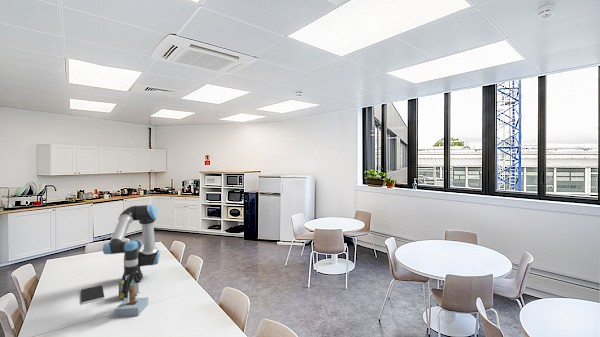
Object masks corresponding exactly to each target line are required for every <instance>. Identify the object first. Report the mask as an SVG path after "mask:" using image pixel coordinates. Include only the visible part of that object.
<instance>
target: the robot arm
mask: <svg viewBox="0 0 600 337" xmlns="http://www.w3.org/2000/svg"><path fill="white" fill-rule="evenodd" d="M157 210H158V209H157V207H156V206H155V205H153V204H146V205H144V204H143V205H132V206H128V207H127V208H125V209H124V210H123V211H122V212H121V213H120V214H119V216H118V220H117V221H118V223H117V225H116V227H115V229H114V232H113V234H112V235H111V238H110V241H109V242H106V243H104V244H103V246H102V252H103V254H104V255H116V254H124V256H123V274H122V276H121V281H122V280H124V283H123V288H122V293H124V303H129V292H128V291H129V288H130V284H131V282H132V280H134V281H135V293H137V294H139V293H140V283H141V282H142V279H143V277H144V273H143V272H142V269H141V267H147V266H155V265H158V264H159V263H160V262H159V261H160V258H161V257H160V255H161V250H159V249H158V247H157V246H156V238H155V225H154V223H155V222H156V220H157V218H158V211H157ZM133 221H138V223H139V224H140V225H141V232H142V233H141V234H142V240H140V239H138V238H137V239H133V240H127V241H124V240H125V238H126V235H127V233H128V230H129V227H130V225H131V224H132V222H133ZM142 247H143V249H142ZM141 249H142V251H141Z"/></svg>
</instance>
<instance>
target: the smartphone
mask: <svg viewBox="0 0 600 337" xmlns="http://www.w3.org/2000/svg"><path fill="white" fill-rule="evenodd" d="M105 299H106V298H105V294H104V289H103V285H102V284H100V285H96V286H91V287H87V288H82V289H81V290H80V304H81V305H86V304H90V303H93V302H98V301H101V300H105Z"/></svg>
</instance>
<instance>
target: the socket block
mask: <svg viewBox="0 0 600 337" xmlns="http://www.w3.org/2000/svg"><path fill="white" fill-rule="evenodd" d="M148 306H149V297H135V305H129V303H124V301H123V300H122V302H121V303H120V304H119V305H118V306H117V307H116V308H114V317H115V318H121V317H122V318H123V317H124V318H125V317H139V316H140V315H141V313H142V312H143V311H144V310H145V309H146V308H147V307H148Z"/></svg>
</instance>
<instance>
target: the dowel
mask: <svg viewBox="0 0 600 337" xmlns="http://www.w3.org/2000/svg"><path fill="white" fill-rule="evenodd" d="M135 298H136V297H135V285H131V286H130V288H129V305H135Z"/></svg>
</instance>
